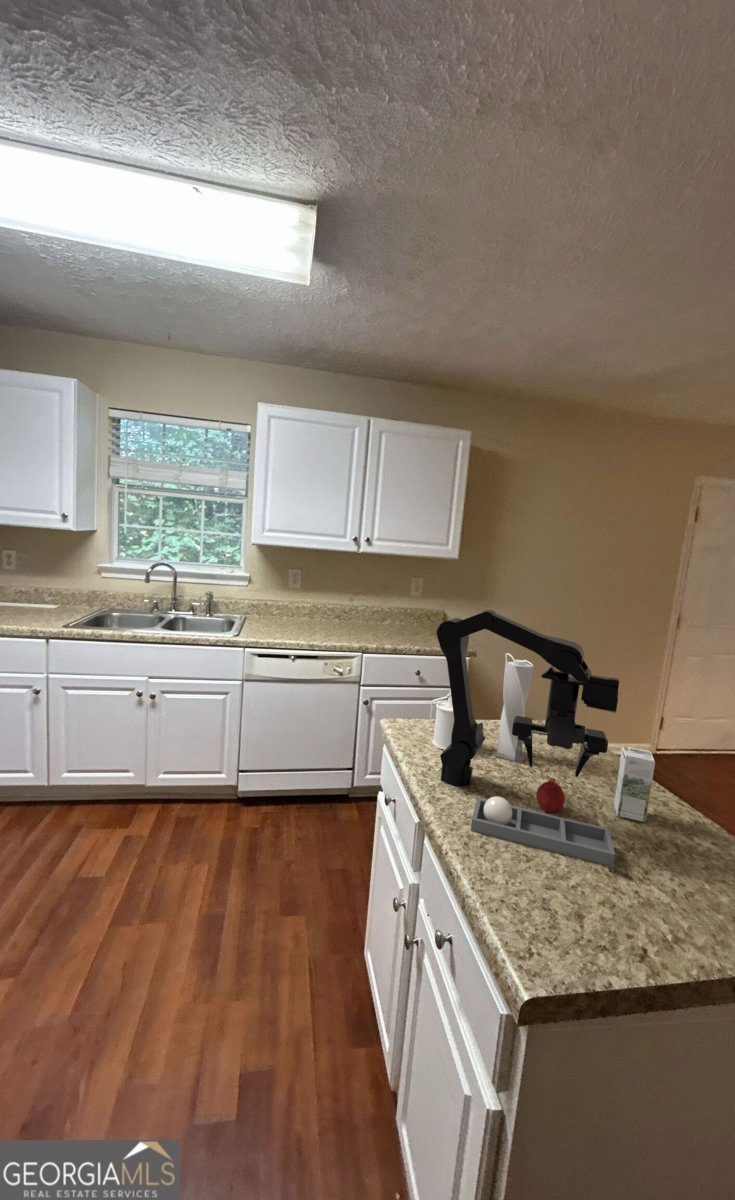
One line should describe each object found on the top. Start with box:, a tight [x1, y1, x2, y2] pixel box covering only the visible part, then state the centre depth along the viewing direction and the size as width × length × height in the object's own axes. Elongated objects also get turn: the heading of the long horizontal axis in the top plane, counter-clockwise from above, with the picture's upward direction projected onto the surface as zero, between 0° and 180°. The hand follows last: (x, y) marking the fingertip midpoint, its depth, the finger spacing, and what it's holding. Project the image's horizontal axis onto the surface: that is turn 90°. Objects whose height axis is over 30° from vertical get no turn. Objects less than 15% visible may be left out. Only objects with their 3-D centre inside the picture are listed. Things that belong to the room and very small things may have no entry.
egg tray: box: [470, 797, 616, 874], centre depth 98 cm, size 25×9×4 cm, turn 71°
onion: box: [535, 777, 566, 813], centre depth 109 cm, size 6×6×8 cm
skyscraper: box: [494, 652, 534, 765], centre depth 137 cm, size 8×8×28 cm
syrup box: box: [613, 745, 656, 823], centre depth 110 cm, size 6×6×14 cm
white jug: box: [429, 689, 454, 751], centre depth 141 cm, size 10×9×20 cm
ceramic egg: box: [483, 795, 512, 825], centre depth 101 cm, size 6×6×6 cm
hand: (553, 771), depth 108 cm, fingers open, 9 cm apart
